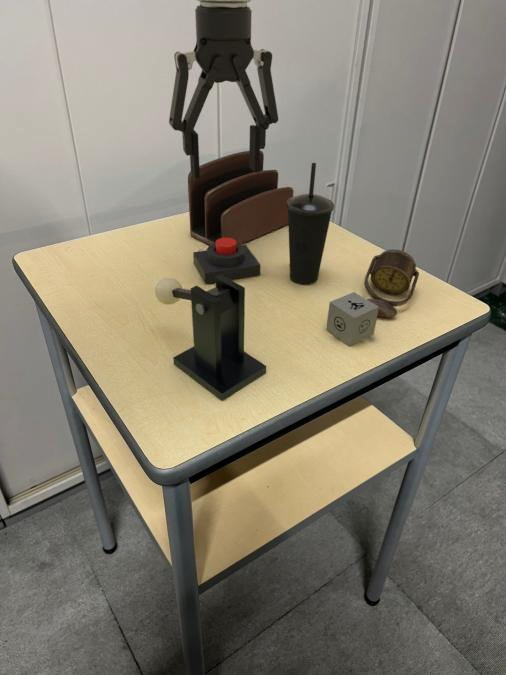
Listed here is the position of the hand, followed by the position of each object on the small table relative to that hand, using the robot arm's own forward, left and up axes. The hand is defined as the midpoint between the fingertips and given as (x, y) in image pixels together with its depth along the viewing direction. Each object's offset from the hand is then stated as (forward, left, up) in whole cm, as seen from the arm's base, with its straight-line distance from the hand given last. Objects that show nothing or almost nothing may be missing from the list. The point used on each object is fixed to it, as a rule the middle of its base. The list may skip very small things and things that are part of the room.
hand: (225, 172), depth 82 cm
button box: (0, 0, -17) cm, 17 cm away
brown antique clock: (+22, -17, -18) cm, 33 cm away
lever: (-11, -22, -10) cm, 26 cm away
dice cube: (+12, -24, -18) cm, 32 cm away
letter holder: (+8, +15, -18) cm, 24 cm away
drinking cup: (+12, -7, -18) cm, 22 cm away
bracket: (-9, -26, -17) cm, 33 cm away
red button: (0, 0, -14) cm, 14 cm away
